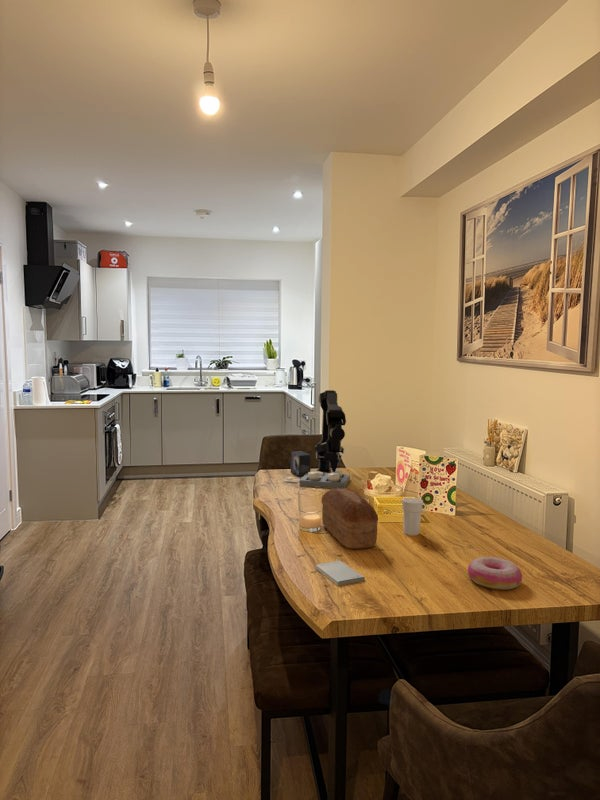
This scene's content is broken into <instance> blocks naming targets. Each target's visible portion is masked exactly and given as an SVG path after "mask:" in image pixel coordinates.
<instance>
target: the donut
mask: <svg viewBox="0 0 600 800" xmlns="http://www.w3.org/2000/svg"><path fill="white" fill-rule="evenodd" d="M467 574H468V576H469V579H471V580H472V582H474V583H475V584H477V585H479V586H480V587H484V588H488V589H492V590H501V591H508V590H513V589H515V588H517V587H519V586H520V584H521V582H522V581H523V574H522V571H521V569H520V568H519V567H518V565H516V564H515V563H514V562H512V561H510V560H507V559H504V558H499V557H495V556H494V557H493V556H483V557H477V558H475V559H473V560H471V561H470V563H469V565H468V567H467Z"/></svg>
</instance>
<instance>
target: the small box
mask: <svg viewBox="0 0 600 800" xmlns="http://www.w3.org/2000/svg"><path fill="white" fill-rule="evenodd" d="M307 472H311V454H310V453H307V452H306V451H302V450H297V451H291V452H290V473H292V474H294V475H295V476H296V477H299V478H302V477H303V476H304V475H305V474H306V473H307Z"/></svg>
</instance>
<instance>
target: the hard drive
mask: <svg viewBox="0 0 600 800" xmlns="http://www.w3.org/2000/svg"><path fill="white" fill-rule="evenodd" d="M314 568H315V569H316V570H317V571H318V572H320V574H322V575H323V576H324V577H326V578H327V579H329V580H330V581H331V582H332V583H333V584H335V585H336V586H344V585H348V584H353V583H358V582H363V581H365V579H366V578H365V576H364V575H362V574H360V573H359V572H357V570H355V569H353V568H352V567H351V566H349V565H347V564H346V563H345V562H343V561H341V560H335V561H329V562H324V563H319V564H317V563H316V565H314Z"/></svg>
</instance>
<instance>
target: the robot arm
mask: <svg viewBox="0 0 600 800" xmlns="http://www.w3.org/2000/svg"><path fill="white" fill-rule="evenodd" d="M318 402H319V406H320V407H321V409H322V423H321V425H322V426H321V438H320V439H319V441H318V443H317V444H316V445H315V446H314V450H315V459H316V460H318V468H317V470H316V472H323V473H331V471H332V472H335V471H336V469H338V466H339V463H340V461H341V458H342V457H343V456H342V455H341V454H344V453H345V448H344V447H343V446H342V441H343V439H344V438H345V436H346V432H345V430H344V429H343V428H342V426H346V424H347V419H346V414H345V411H343V408H342V407H341V406H339V404H338V393H337V391H336V390H334V389H333V390H332V389H331V390H329V389H327V390H325V391H322V392H320V393H319V395H318ZM340 453H341V454H340Z"/></svg>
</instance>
